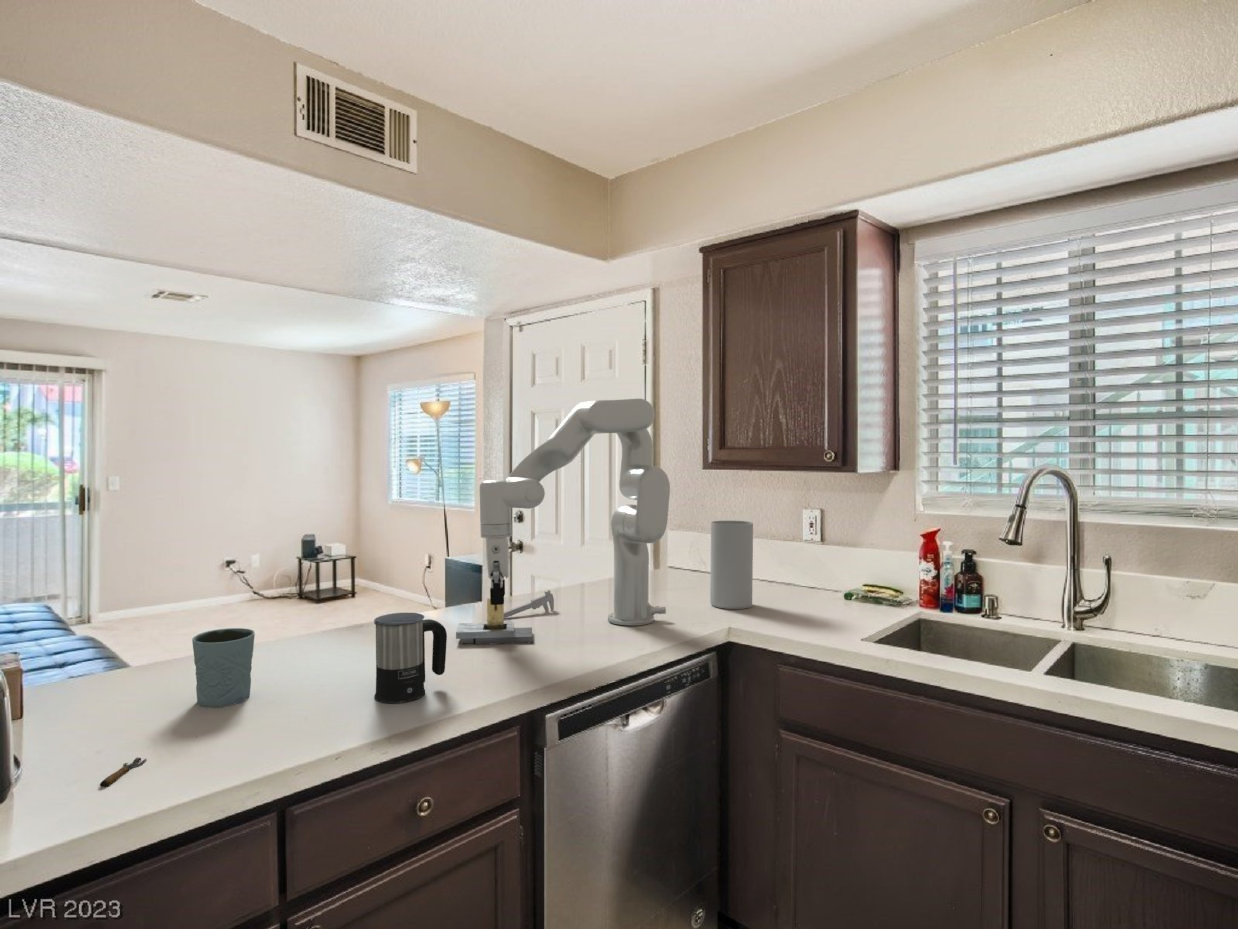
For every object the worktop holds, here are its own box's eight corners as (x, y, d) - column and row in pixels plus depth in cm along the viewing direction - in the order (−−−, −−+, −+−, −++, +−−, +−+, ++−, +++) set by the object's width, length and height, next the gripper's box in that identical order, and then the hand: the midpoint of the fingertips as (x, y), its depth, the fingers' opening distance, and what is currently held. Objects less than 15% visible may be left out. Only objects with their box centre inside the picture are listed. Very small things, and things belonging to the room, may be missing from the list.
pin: (503, 636, 177) (503, 596, 177) (503, 641, 173) (503, 600, 173) (487, 637, 177) (487, 596, 177) (486, 641, 173) (486, 600, 173)
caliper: (551, 610, 208) (551, 589, 207) (554, 611, 207) (554, 589, 207) (490, 621, 194) (490, 598, 194) (492, 622, 193) (492, 599, 193)
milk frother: (396, 708, 128) (396, 626, 128) (340, 691, 137) (340, 614, 136) (454, 686, 140) (454, 611, 140) (399, 672, 149) (399, 601, 148)
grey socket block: (531, 633, 181) (531, 621, 181) (532, 642, 172) (532, 630, 172) (459, 635, 178) (459, 623, 178) (456, 645, 169) (456, 632, 169)
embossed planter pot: (241, 686, 139) (240, 625, 139) (264, 698, 133) (264, 634, 132) (183, 700, 131) (183, 635, 131) (205, 713, 125) (205, 645, 125)
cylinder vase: (755, 610, 209) (756, 524, 208) (712, 609, 209) (713, 524, 208) (748, 601, 221) (749, 520, 221) (708, 600, 221) (708, 520, 221)
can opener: (107, 789, 97) (107, 781, 97) (90, 789, 98) (90, 780, 98) (152, 761, 106) (152, 753, 106) (136, 761, 107) (136, 753, 107)
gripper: (511, 534, 167) (513, 607, 167) (512, 525, 184) (513, 591, 184) (478, 535, 166) (480, 609, 166) (482, 526, 183) (484, 593, 183)
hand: (498, 599), depth 175 cm, fingers open, 9 cm apart
